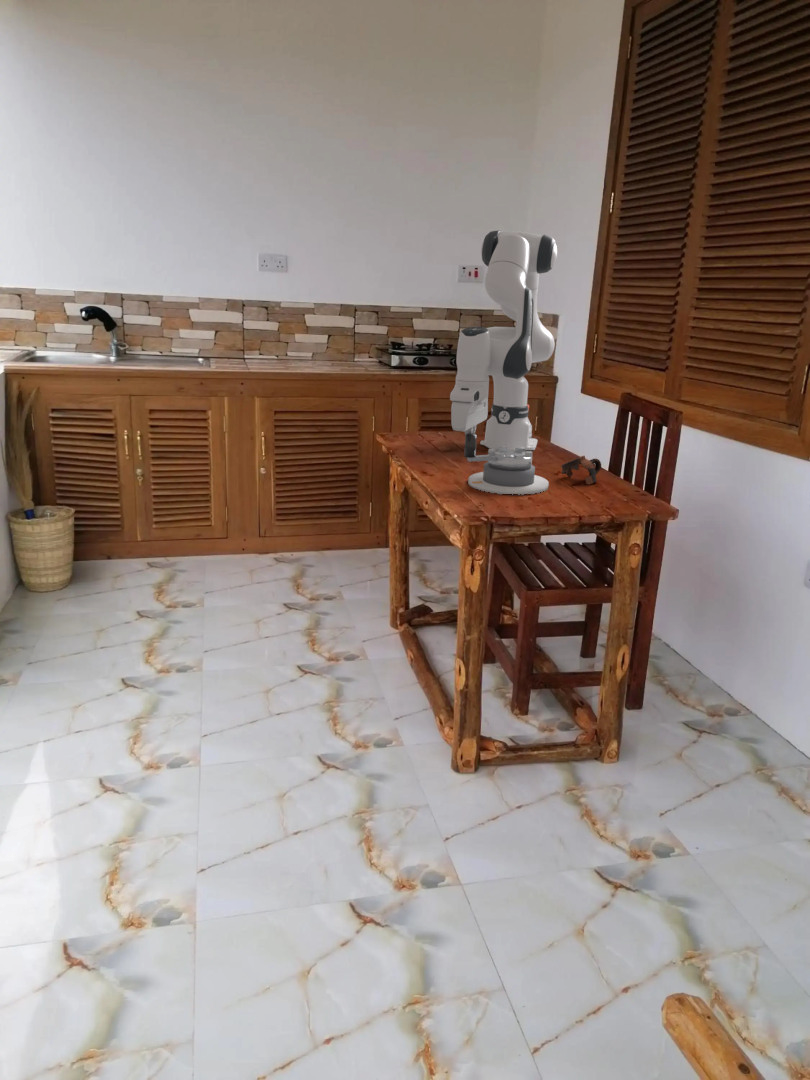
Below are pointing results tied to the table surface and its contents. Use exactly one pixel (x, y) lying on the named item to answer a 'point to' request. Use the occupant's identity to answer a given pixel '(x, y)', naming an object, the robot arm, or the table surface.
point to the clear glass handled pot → (498, 455)
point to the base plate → (508, 490)
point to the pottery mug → (586, 464)
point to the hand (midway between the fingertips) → (469, 442)
